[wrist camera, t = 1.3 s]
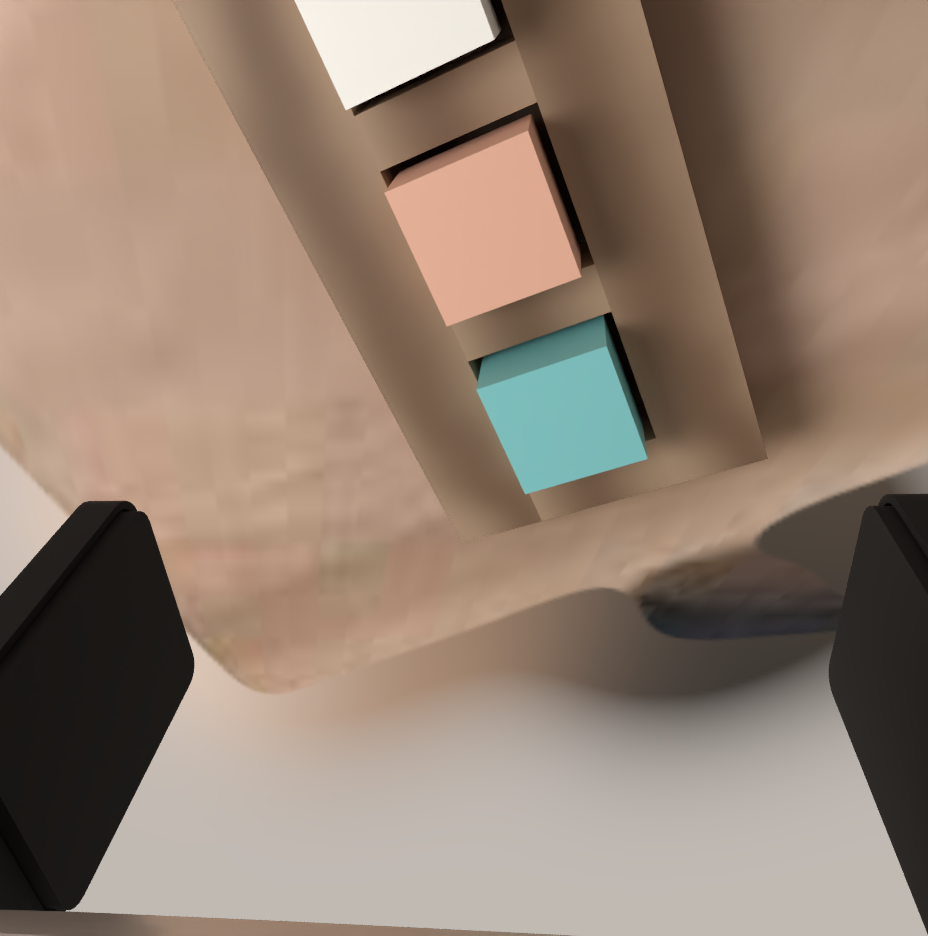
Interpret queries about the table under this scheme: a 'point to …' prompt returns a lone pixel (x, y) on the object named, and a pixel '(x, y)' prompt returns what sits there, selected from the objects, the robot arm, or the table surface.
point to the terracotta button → (486, 222)
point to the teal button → (562, 406)
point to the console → (465, 343)
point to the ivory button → (392, 39)
